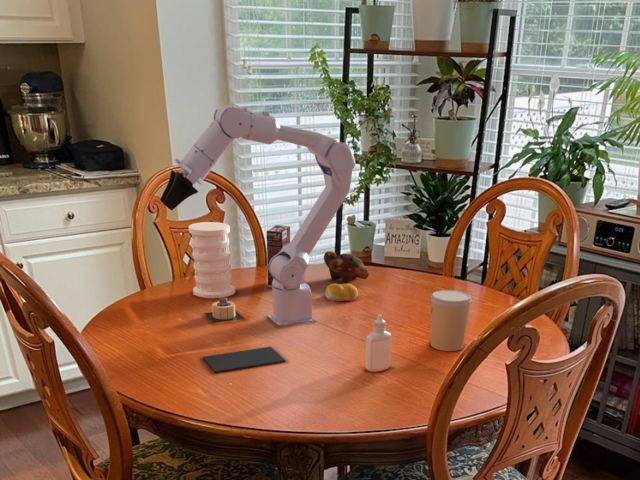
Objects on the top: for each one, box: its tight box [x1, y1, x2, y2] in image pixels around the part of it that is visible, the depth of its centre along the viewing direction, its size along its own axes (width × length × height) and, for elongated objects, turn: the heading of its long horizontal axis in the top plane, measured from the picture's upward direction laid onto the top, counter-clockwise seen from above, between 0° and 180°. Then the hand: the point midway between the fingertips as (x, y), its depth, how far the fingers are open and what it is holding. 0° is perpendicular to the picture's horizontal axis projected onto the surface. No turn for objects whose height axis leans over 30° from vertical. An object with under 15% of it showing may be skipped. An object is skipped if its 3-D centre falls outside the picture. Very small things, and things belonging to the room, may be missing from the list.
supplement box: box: [266, 224, 291, 289], centre depth 203 cm, size 9×5×16 cm, turn 168°
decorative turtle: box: [323, 250, 370, 284], centre depth 211 cm, size 10×15×8 cm, turn 67°
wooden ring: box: [211, 300, 237, 319], centre depth 180 cm, size 6×6×3 cm
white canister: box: [430, 289, 473, 352], centre depth 166 cm, size 9×9×12 cm
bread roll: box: [324, 283, 359, 302], centre depth 198 cm, size 8×9×4 cm
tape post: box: [204, 297, 245, 324], centre depth 180 cm, size 8×8×5 cm
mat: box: [202, 346, 286, 374], centre depth 157 cm, size 16×9×1 cm, turn 117°
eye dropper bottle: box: [365, 313, 393, 373], centre depth 152 cm, size 4×6×12 cm
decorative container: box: [188, 221, 236, 299], centre depth 194 cm, size 12×12×18 cm
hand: (165, 205), depth 156 cm, fingers open, 7 cm apart
